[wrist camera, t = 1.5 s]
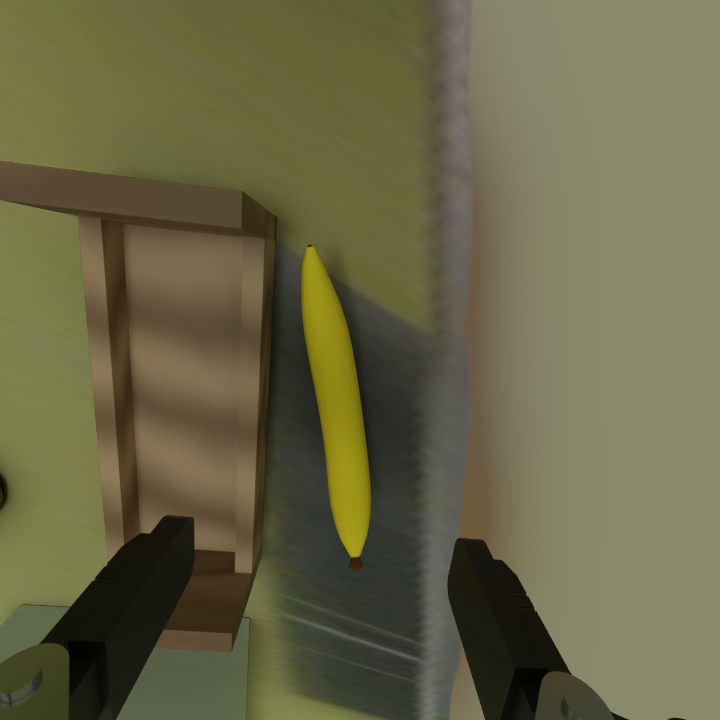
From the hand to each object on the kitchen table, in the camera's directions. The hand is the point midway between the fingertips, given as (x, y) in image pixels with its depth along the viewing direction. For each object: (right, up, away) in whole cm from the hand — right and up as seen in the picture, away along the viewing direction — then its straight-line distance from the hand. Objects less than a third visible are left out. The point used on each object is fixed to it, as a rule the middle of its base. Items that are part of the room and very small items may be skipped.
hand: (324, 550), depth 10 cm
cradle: (-11, +3, +14) cm, 18 cm away
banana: (0, +4, +14) cm, 15 cm away
